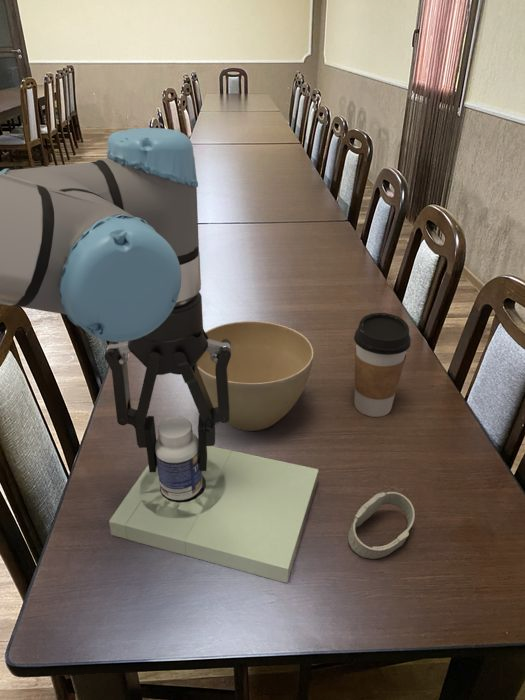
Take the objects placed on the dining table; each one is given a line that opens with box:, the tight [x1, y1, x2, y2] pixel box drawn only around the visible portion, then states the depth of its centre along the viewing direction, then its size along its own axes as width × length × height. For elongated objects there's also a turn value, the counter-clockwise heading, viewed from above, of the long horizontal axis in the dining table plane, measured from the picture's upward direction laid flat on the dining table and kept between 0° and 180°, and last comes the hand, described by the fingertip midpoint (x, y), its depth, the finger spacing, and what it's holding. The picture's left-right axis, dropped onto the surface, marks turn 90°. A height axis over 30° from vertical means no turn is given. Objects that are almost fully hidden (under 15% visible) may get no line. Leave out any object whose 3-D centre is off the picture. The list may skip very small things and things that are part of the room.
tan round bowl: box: [197, 320, 314, 432], centre depth 82 cm, size 18×18×12 cm
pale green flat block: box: [108, 446, 319, 584], centre depth 68 cm, size 22×16×2 cm
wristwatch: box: [347, 491, 416, 560], centre depth 64 cm, size 9×6×5 cm
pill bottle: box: [155, 416, 202, 501], centre depth 66 cm, size 5×5×10 cm
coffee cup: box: [353, 312, 412, 418], centre depth 83 cm, size 8×8×15 cm
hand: (178, 463), depth 67 cm, fingers closed on pill bottle, 5 cm apart
